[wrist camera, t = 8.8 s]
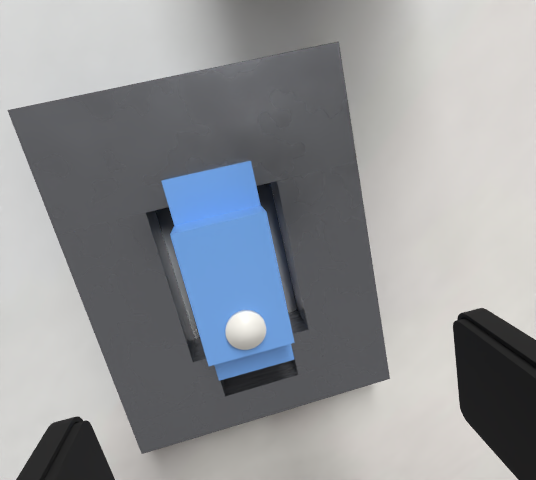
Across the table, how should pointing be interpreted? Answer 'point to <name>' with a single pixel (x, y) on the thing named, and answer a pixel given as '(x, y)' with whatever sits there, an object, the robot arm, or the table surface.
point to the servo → (230, 269)
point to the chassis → (155, 251)
